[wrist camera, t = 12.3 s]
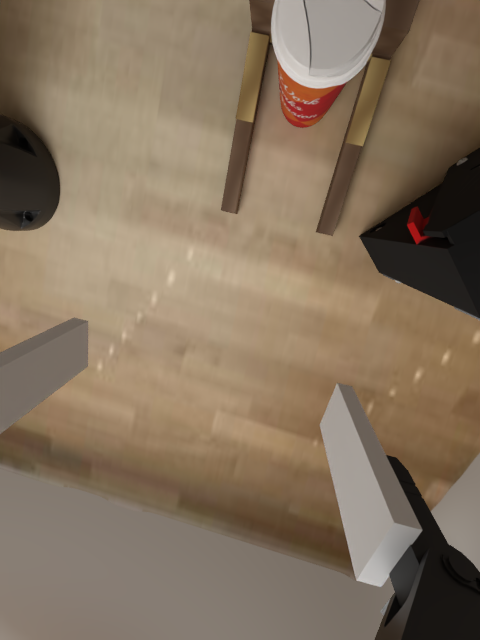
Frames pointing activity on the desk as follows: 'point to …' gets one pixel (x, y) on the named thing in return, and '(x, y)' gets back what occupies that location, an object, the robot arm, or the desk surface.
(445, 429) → the desk surface
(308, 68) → the coffee cup
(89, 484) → the desk surface
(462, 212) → the electrical component
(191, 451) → the desk surface
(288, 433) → the desk surface
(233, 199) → the guide channel
